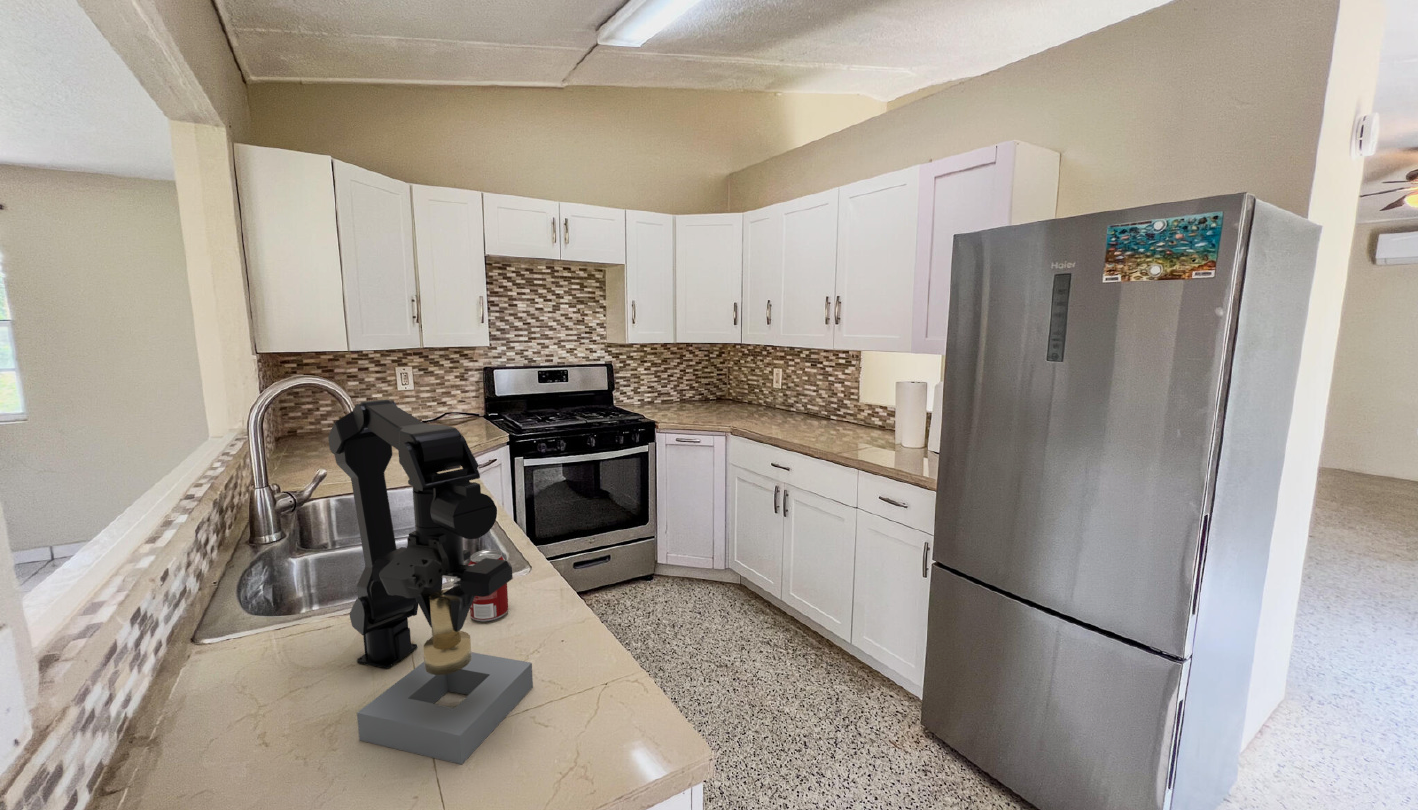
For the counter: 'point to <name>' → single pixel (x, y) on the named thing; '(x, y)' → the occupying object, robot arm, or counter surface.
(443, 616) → the stepped shaft
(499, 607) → the soda can
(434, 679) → the housing
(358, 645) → the counter surface
